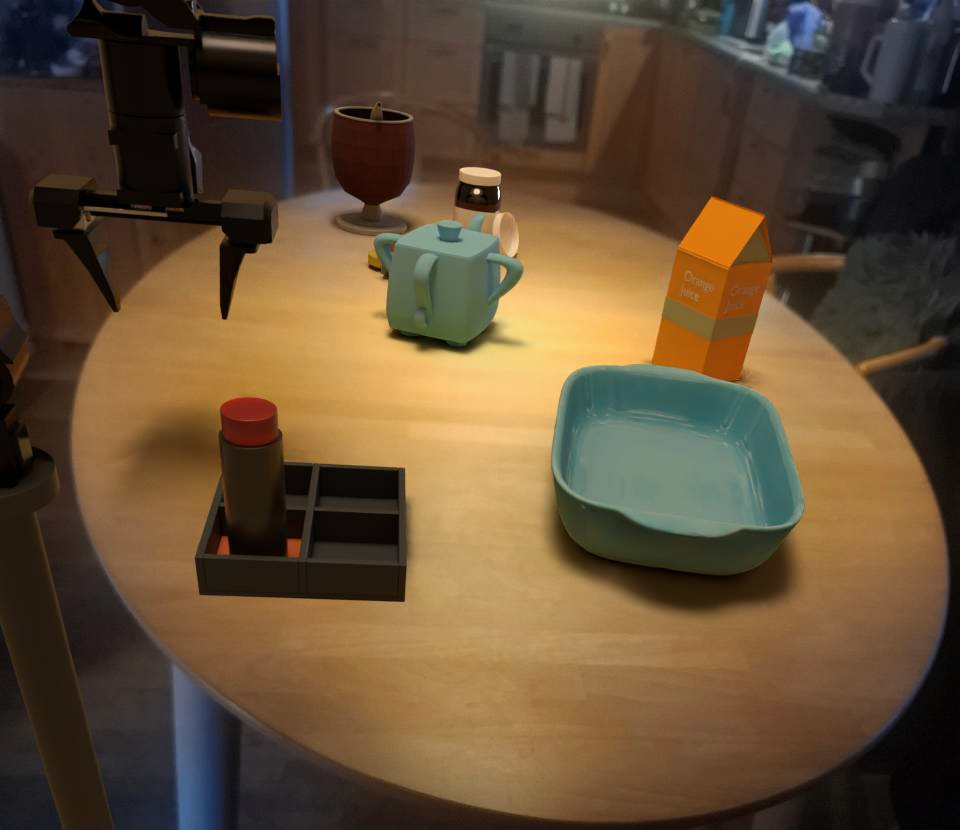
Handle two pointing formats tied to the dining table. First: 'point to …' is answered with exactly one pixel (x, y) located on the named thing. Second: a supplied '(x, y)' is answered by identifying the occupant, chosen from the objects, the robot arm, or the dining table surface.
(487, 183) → the spread jar
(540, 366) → the dining table surface
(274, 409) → the pepper grinder
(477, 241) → the teapot
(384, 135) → the mate gourd
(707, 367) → the orange juice
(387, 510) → the tray
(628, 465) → the casserole dish
